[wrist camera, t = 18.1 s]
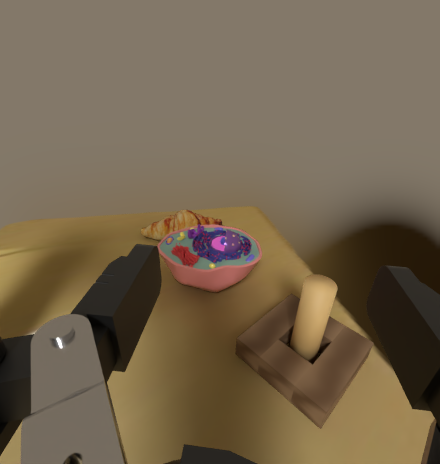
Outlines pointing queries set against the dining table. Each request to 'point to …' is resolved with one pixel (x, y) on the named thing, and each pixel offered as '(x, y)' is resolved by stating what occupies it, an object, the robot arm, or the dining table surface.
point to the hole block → (303, 360)
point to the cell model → (210, 256)
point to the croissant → (176, 224)
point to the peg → (312, 316)
